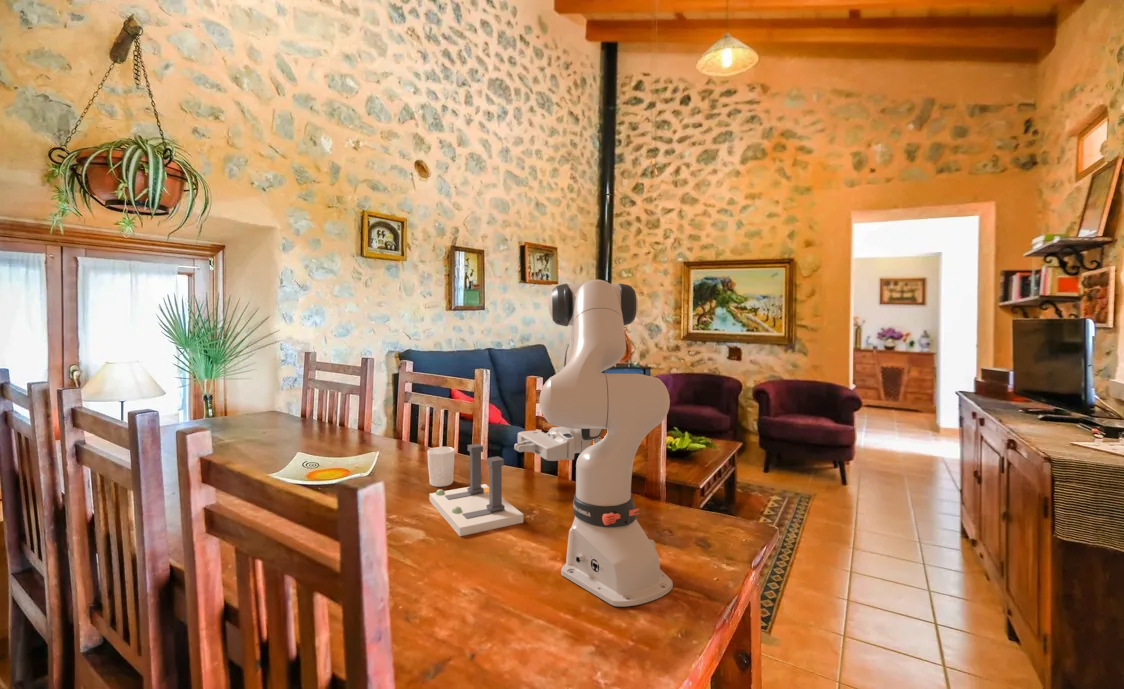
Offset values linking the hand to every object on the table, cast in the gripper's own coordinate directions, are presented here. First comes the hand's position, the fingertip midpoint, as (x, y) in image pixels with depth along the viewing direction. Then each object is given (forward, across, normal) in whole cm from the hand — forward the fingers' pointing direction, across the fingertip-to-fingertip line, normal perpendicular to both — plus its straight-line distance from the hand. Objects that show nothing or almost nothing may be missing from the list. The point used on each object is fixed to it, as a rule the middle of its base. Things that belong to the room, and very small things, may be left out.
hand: (516, 448), depth 145 cm
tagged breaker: (+12, +1, +10) cm, 16 cm away
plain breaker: (+12, +15, +10) cm, 21 cm away
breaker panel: (+15, +8, +12) cm, 21 cm away
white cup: (+16, -17, +13) cm, 27 cm away
